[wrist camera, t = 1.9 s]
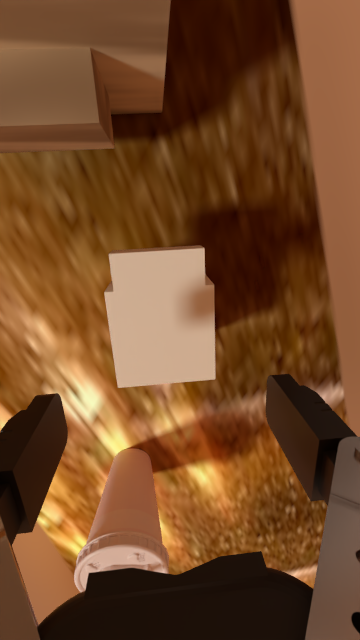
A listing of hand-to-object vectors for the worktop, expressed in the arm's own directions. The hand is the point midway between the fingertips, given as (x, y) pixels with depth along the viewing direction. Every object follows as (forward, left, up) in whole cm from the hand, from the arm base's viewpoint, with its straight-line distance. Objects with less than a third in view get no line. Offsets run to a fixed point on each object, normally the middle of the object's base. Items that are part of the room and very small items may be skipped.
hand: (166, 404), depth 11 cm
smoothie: (+16, -4, -13) cm, 21 cm away
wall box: (0, 0, -13) cm, 13 cm away
